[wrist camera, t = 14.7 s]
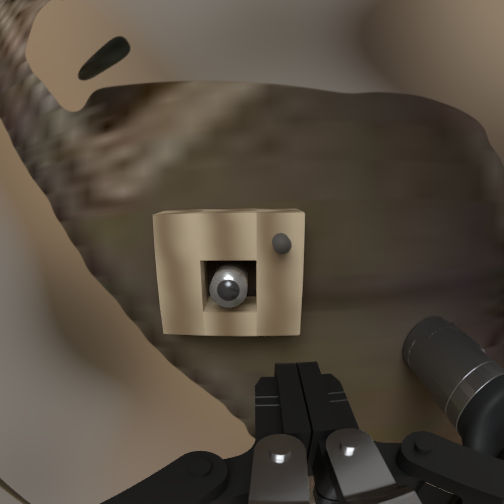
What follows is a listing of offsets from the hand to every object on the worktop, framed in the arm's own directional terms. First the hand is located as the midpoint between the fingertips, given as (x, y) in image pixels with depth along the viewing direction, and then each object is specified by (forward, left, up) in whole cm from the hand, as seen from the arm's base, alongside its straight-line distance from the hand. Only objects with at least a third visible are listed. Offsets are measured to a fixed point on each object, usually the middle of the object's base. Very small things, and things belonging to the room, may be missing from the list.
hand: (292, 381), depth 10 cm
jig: (+4, +3, -27) cm, 27 cm away
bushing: (+4, +4, -27) cm, 28 cm away
